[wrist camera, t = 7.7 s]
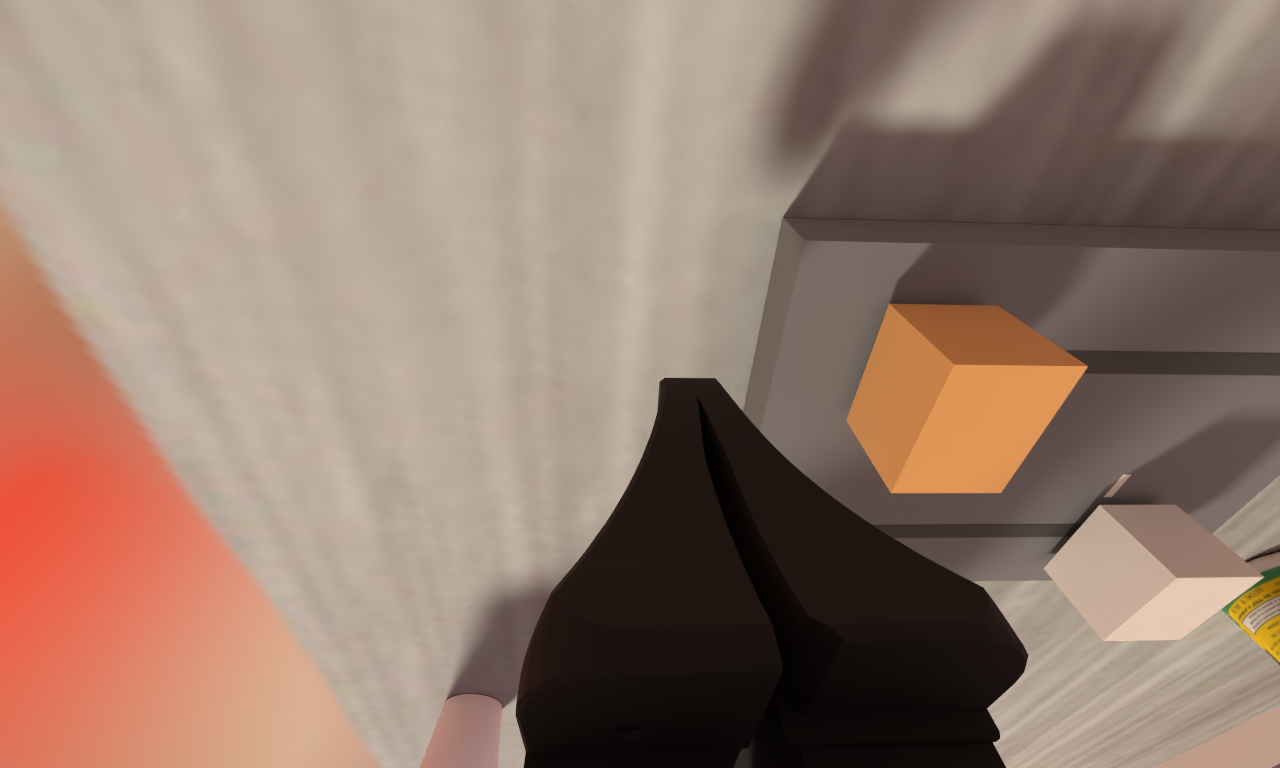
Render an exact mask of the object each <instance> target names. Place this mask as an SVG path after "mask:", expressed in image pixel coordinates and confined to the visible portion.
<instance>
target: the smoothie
mask: <svg viewBox="0 0 1280 768" xmlns="http://www.w3.org/2000/svg"><path fill="white" fill-rule="evenodd" d="M501 714H502V705H501V703H500V702H499V701H497V700H496V699H494V698H491V697H488V696H484V695H478V694H462V695H457V696H453V697H451V698H449V699H448V700H446V702H445V704H444V706H443V709H442V712H441V714H440V717H439V719H438V722H437V725H436V727H435V730H434V732H433V735H432V738H431V740H430V743H429V745H428V748H427V751H426V753H425V756H424V758H423V761H422V764H421V766H420V768H498V755H499V741H500V727H501Z"/></svg>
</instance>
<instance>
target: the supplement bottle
mask: <svg viewBox="0 0 1280 768" xmlns="http://www.w3.org/2000/svg"><path fill="white" fill-rule="evenodd" d="M1247 563H1248V564H1249V565H1250V566H1251V567H1253V568H1254V569H1255V570H1256V571H1258V572H1259V573H1260V574H1261V575H1263V576H1264V578H1262V579H1261V580H1260V581H1258V582H1257V583H1256V584H1254V585H1253V586H1252V587H1250V588H1249V589H1247V590H1246V591H1245V592H1243V593H1242V594H1241V595H1239V596H1238V597H1237V598H1235V599H1234V600H1233V601H1231V602H1230V603H1229V604H1227V605H1226V606H1224V607H1223V608H1222V609H1221V610H1222V611H1223V612H1224V613H1225V614H1226V615H1227V616H1228V617H1230V618H1231V619H1232V620H1233V621H1234V622H1235V623H1236V624H1237V625H1238V626H1239V627H1240V628H1241V629H1242V630H1243V631H1245V632H1246V633H1247V634H1248V635H1249V636H1250V637H1251V638H1252V639H1253V640H1254V641H1255V642H1256V643H1257V644H1258V645H1259V646H1261V647H1262V648H1263V649H1264V650H1265V651H1266V652H1267V653H1268V654H1269V655H1270V656H1271V657H1272V658H1273V659H1274V660H1275V661H1276V662H1277V663H1278V664H1279V665H1280V552H1277V553H1273V554H1270V555H1266V556H1262V557H1259V558H1256V559H1254V560H1251V561H1249V562H1247Z"/></svg>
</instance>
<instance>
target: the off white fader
mask: <svg viewBox="0 0 1280 768" xmlns="http://www.w3.org/2000/svg"><path fill="white" fill-rule="evenodd" d="M1044 570H1045V571H1046V572H1047V573H1048V575H1049V576H1050V577H1051V578H1052V580H1053V581H1054V582H1055V583H1056V584H1057V586H1058V587H1059V588H1060V589H1061V591H1062V592H1063V593H1064V594H1065V595H1066V597H1067V598H1068V599H1069V600H1070V602H1071V603H1072V604H1073V605H1074V606H1075V608H1076V609H1077V610H1078V611H1079V613H1080V614H1081V615H1082V616H1083V617H1084V619H1085V620H1086V621H1087V622H1088V623H1089V625H1090V626H1091V627H1092V628H1093V630H1094V631H1095V632H1096V633H1097V634H1098V636H1099V637H1100V638H1101V639H1102V641H1135V640H1180V639H1181V638H1182V637H1184V636H1185V635H1187V634H1188V633H1189V632H1191V631H1192V630H1193V629H1195V628H1196V627H1197V626H1199V625H1200V624H1201V623H1203V622H1204V621H1206V620H1207V619H1208V618H1210V617H1211V616H1212V615H1214V614H1215V613H1216V612H1218V611H1219V610H1220V609H1222V608H1223V607H1224V606H1226V605H1227V604H1229V603H1230V602H1231V601H1233V600H1234V599H1235V598H1237V597H1238V596H1239V595H1241V594H1242V593H1243V592H1245V591H1246V590H1247V589H1249V588H1250V587H1252V586H1253V585H1254V584H1256V583H1257V582H1258V581H1260V580H1261V579H1262V578H1264V576H1263V575H1261V574H1260V573H1259V572H1258V571H1256V570H1255V569H1254V568H1253V567H1251V566H1250V565H1249V564H1248V563H1247V562H1245V561H1244V560H1243V559H1242V558H1240V557H1239V556H1238V555H1237V554H1236V553H1234V552H1233V551H1232V550H1231V549H1229V548H1228V547H1227V546H1226V545H1224V544H1223V543H1222V542H1221V541H1220V540H1218V539H1217V538H1216V537H1215V536H1213V535H1212V534H1211V533H1210V532H1209V531H1207V530H1206V529H1205V528H1204V527H1202V526H1201V525H1200V524H1199V523H1197V522H1196V521H1195V520H1194V519H1193V518H1191V517H1190V516H1189V515H1188V514H1186V513H1185V512H1184V511H1183V510H1182V509H1180V508H1179V507H1178V506H1177V505H1099V506H1098V507H1097V508H1096V510H1095V511H1094V512H1093V513H1092V514H1091V515H1090V516H1089V518H1088V519H1087V520H1086V521H1085V522H1084V523H1083V524H1082V525H1081V527H1080V528H1079V529H1078V530H1077V531H1076V532H1075V533H1074V535H1073V536H1072V537H1071V538H1070V539H1069V540H1068V541H1067V543H1066V544H1065V545H1064V546H1063V547H1062V548H1061V549H1060V550H1059V552H1058V553H1057V554H1056V555H1055V556H1054V557H1053V558H1052V560H1051V561H1050V562H1049V563H1048V564H1047V565H1046V566H1045V568H1044Z"/></svg>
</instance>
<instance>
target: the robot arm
mask: <svg viewBox="0 0 1280 768" xmlns="http://www.w3.org/2000/svg"><path fill="white" fill-rule="evenodd" d="M1027 658H1028V654H1027V652H1026V650H1025V648H1024V646H1023V644H1022V643H1021V641H1020V640H1019V638H1018V637H1017V635H1016V634H1015V632H1014V631H1013V629H1012V628H1011V626H1010V625H1009V623H1008V622H1007V620H1006V619H1005V617H1004V616H1003V614H1002V613H1001V611H1000V610H999V608H998V607H997V606H996V604H995V603H994V601H993V600H992V598H991V597H990V596H989V595H988V593H987V592H986V591H985V589H984V588H983V587H981V586H979V585H977V584H975V583H973V582H971V581H970V580H968V579H966V578H964V577H962V576H960V575H958V574H956V573H954V572H953V571H951V570H949V569H947V568H945V567H943V566H941V565H939V564H937V563H935V562H934V561H932V560H930V559H928V558H926V557H924V556H922V555H921V554H919V553H917V552H915V551H914V550H912V549H910V548H909V547H907V546H906V545H904V544H902V543H901V542H899V541H897V540H896V539H894V538H892V537H891V536H889V535H887V534H886V533H884V532H883V531H881V530H879V529H878V528H876V527H875V526H873V525H872V524H870V523H869V522H867V521H866V520H864V519H863V518H861V517H860V516H858V515H857V514H856V513H854V512H853V511H851V510H850V509H849V508H847V507H846V506H844V505H843V504H841V503H840V502H839V501H837V500H836V499H835V498H833V497H832V496H831V495H829V494H828V493H827V492H825V491H824V490H823V489H822V488H820V487H819V486H818V485H817V484H816V483H814V482H813V481H812V480H811V479H810V478H808V477H807V476H806V475H805V474H803V473H802V472H801V471H800V470H799V469H798V468H797V467H795V466H794V465H793V464H792V463H791V462H790V461H789V460H788V459H787V458H786V457H785V456H784V455H783V454H782V453H781V452H779V451H778V450H777V449H776V448H775V447H774V446H773V445H772V444H771V442H770V441H769V440H768V439H767V438H766V437H765V436H764V435H763V434H762V433H761V432H760V431H759V430H758V428H757V427H756V426H755V425H754V424H753V423H752V422H751V421H750V420H749V418H748V417H747V416H746V415H745V414H744V413H743V411H742V410H741V409H740V408H739V407H738V405H737V404H736V403H735V402H734V400H733V399H732V398H731V397H730V395H729V394H728V393H727V392H726V390H725V389H724V388H723V387H722V385H721V384H720V383H719V382H718V381H717V380H716V379H715V378H664V379H663V380H661V381H660V385H659V399H658V412H657V416H656V419H655V423H654V426H653V430H652V433H651V436H650V438H649V441H648V443H647V446H646V448H645V451H644V454H643V456H642V458H641V461H640V463H639V465H638V467H637V469H636V471H635V474H634V476H633V477H632V479H631V481H630V483H629V485H628V487H627V489H626V491H625V492H624V494H623V496H622V498H621V499H620V501H619V503H618V504H617V506H616V508H615V509H614V511H613V513H612V514H611V516H610V517H609V519H608V520H607V522H606V523H605V525H604V526H603V528H602V529H601V530H600V532H599V533H598V535H597V536H596V537H595V539H594V540H593V542H592V543H591V544H590V546H589V547H588V549H587V550H586V551H585V553H584V554H583V555H582V556H581V558H580V559H579V560H578V561H577V563H576V564H575V565H574V566H573V567H572V569H571V570H570V571H569V572H568V573H567V574H566V576H565V577H564V578H563V579H562V580H561V582H560V583H559V584H558V585H557V586H556V587H555V589H554V590H553V591H552V592H551V594H550V597H549V599H548V601H547V603H546V605H545V607H544V610H543V612H542V614H541V616H540V618H539V621H538V623H537V626H536V628H535V630H534V633H533V635H532V638H531V641H530V644H529V646H528V649H527V653H526V656H525V659H524V663H523V667H522V671H521V677H520V683H519V690H518V697H517V704H516V718H517V722H518V725H519V729H520V732H521V736H522V739H523V743H524V746H525V750H526V755H525V763H524V768H1006V767H1005V765H1004V763H1003V761H1002V759H1001V757H1000V755H999V753H998V752H997V750H996V748H995V746H994V744H993V742H996V741H998V740H999V739H1000V732H999V730H998V728H997V726H996V724H995V723H994V721H993V719H992V717H991V715H990V714H989V712H988V710H987V708H988V707H989V706H990V705H991V704H992V703H994V702H995V701H996V700H997V699H998V698H999V697H1000V696H1001V695H1002V694H1003V693H1004V692H1006V691H1007V690H1008V689H1009V688H1010V687H1011V686H1012V685H1013V684H1014V683H1015V682H1016V681H1017V680H1018V679H1019V677H1020V676H1021V675H1022V674H1023V673H1024V670H1025V667H1026V663H1027ZM1272 768H1280V764H1278V765H1276V766H1274V767H1272Z"/></svg>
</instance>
